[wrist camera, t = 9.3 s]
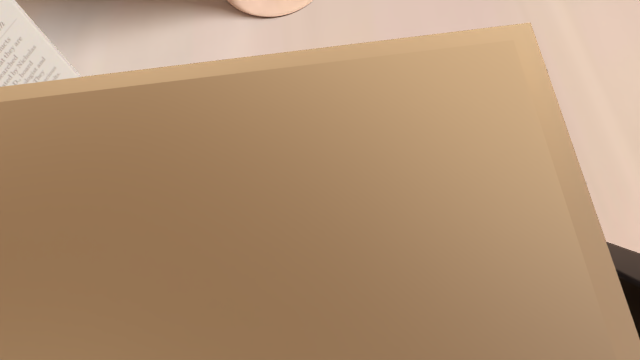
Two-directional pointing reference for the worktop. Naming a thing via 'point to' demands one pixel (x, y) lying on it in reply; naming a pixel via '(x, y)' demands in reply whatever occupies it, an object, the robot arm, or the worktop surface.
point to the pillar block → (306, 211)
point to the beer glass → (269, 6)
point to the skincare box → (27, 50)
